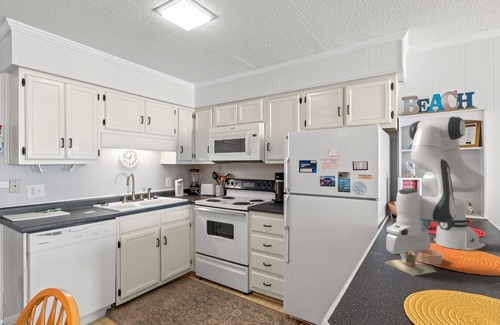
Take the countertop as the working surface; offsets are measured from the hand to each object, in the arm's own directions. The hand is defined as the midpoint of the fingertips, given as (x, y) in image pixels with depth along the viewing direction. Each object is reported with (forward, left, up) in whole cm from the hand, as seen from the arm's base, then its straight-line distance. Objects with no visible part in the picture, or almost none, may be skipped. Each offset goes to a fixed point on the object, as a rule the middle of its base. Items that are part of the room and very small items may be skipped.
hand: (409, 261), depth 106 cm
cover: (0, 0, -2) cm, 2 cm away
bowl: (-14, -3, -2) cm, 15 cm away
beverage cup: (-8, -15, -3) cm, 17 cm away
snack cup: (-64, -46, -3) cm, 79 cm away
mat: (0, 0, -2) cm, 2 cm away
